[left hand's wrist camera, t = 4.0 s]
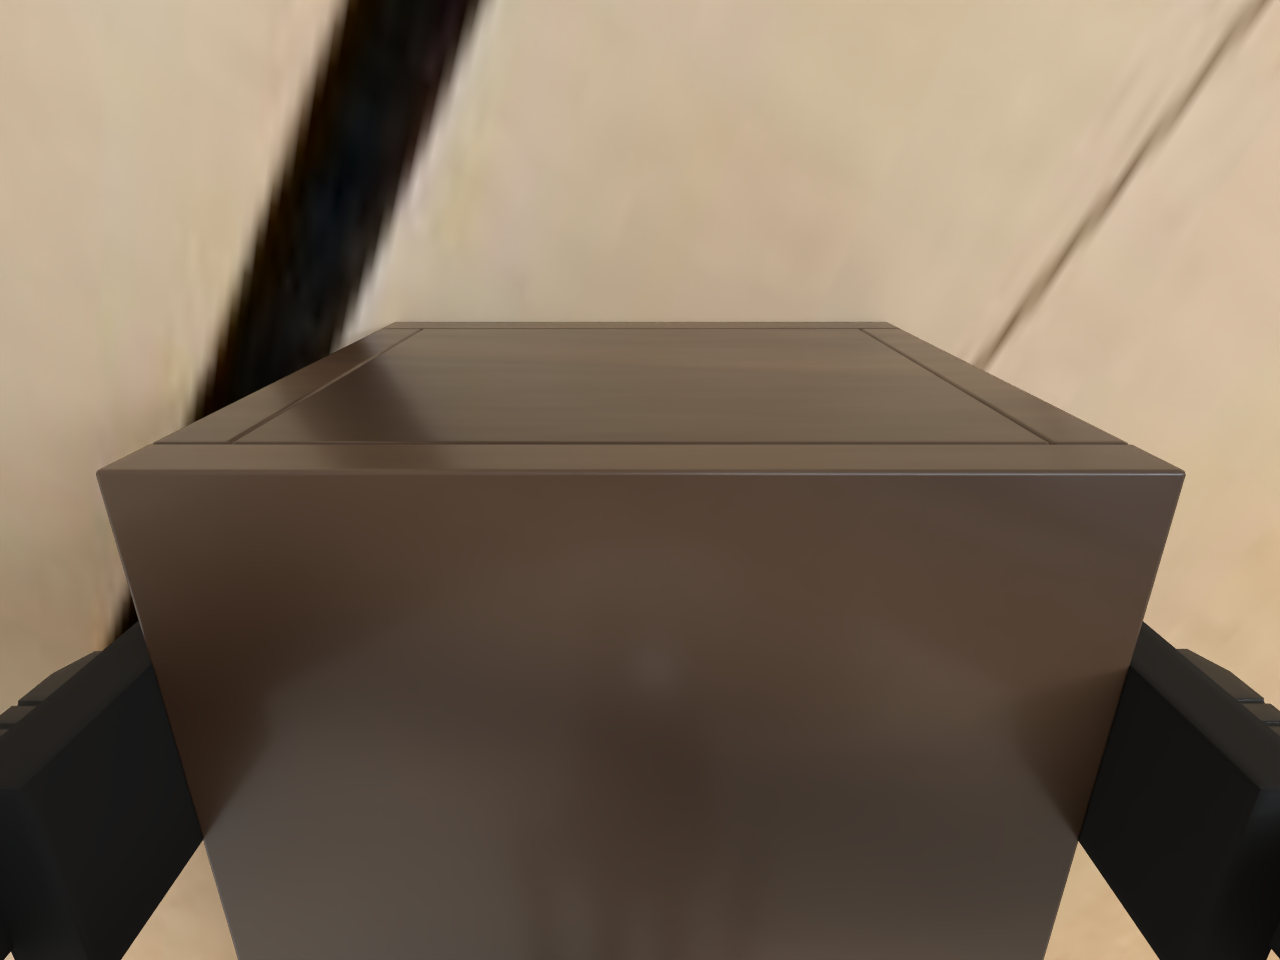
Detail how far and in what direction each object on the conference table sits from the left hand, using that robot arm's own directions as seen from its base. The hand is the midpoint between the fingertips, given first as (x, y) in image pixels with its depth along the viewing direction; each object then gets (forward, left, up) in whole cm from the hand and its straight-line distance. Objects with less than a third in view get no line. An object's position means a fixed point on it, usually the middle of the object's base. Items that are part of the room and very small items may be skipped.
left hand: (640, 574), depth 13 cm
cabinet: (+7, -3, -5) cm, 9 cm away
